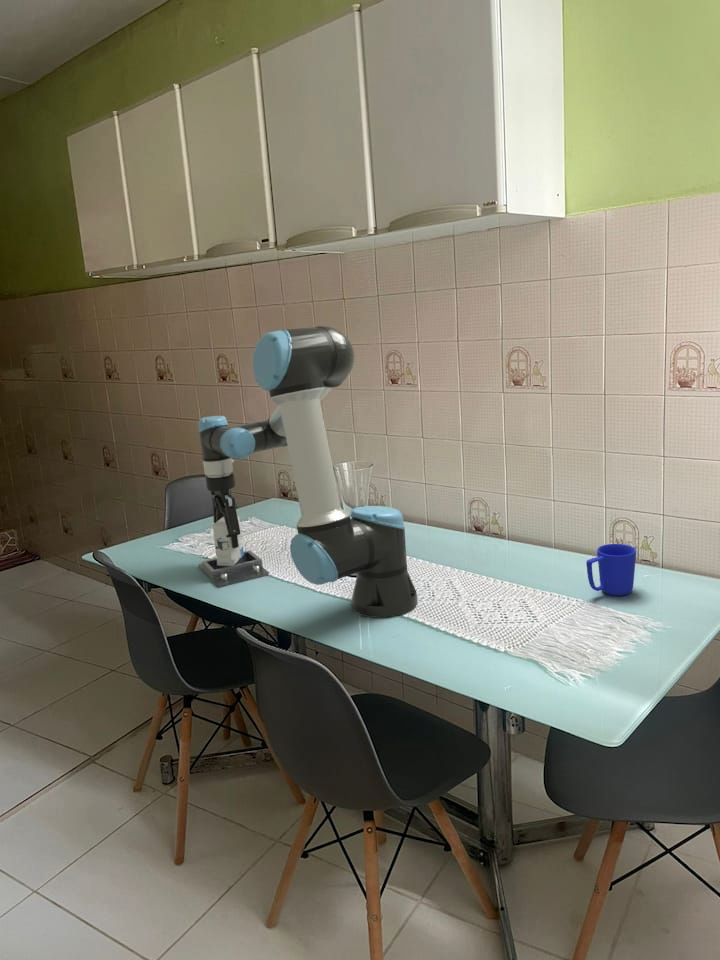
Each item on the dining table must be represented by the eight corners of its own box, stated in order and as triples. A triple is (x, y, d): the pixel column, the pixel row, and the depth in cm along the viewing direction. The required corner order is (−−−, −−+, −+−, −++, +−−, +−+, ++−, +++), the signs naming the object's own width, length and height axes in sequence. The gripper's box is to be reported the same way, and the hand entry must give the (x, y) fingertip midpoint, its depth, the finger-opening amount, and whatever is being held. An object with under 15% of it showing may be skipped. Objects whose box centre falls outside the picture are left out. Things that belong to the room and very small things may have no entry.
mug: (576, 593, 165) (575, 552, 162) (618, 581, 169) (617, 541, 167) (601, 605, 157) (600, 562, 155) (644, 593, 162) (644, 550, 160)
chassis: (269, 575, 195) (267, 564, 194) (218, 587, 189) (217, 577, 188) (245, 555, 212) (244, 546, 211) (198, 567, 206) (197, 557, 205)
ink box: (228, 555, 204) (223, 515, 202) (245, 555, 203) (240, 514, 201) (217, 566, 196) (210, 524, 193) (234, 566, 195) (228, 524, 192)
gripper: (246, 478, 186) (256, 561, 191) (221, 465, 205) (231, 541, 210) (217, 483, 183) (229, 567, 188) (195, 470, 202) (206, 546, 207)
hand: (230, 553), depth 199 cm, fingers closed on ink box, 9 cm apart
